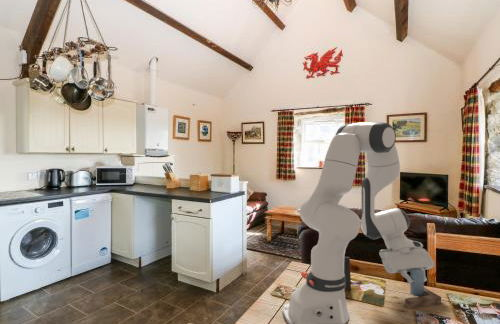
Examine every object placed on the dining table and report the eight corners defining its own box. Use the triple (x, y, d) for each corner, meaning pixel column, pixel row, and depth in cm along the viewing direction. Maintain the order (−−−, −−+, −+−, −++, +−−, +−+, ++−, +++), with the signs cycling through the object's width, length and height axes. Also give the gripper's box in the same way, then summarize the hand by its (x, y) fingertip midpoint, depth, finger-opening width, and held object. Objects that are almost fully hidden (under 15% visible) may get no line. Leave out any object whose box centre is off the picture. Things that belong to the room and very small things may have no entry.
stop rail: (409, 308, 96) (409, 301, 96) (392, 296, 105) (392, 289, 105) (441, 303, 99) (441, 297, 99) (422, 292, 107) (422, 286, 107)
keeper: (416, 297, 101) (416, 273, 101) (407, 291, 105) (407, 268, 105) (426, 296, 102) (426, 272, 101) (417, 290, 106) (417, 267, 106)
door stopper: (351, 290, 110) (351, 261, 109) (335, 288, 111) (335, 260, 111) (347, 280, 119) (347, 253, 118) (333, 278, 120) (333, 252, 120)
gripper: (381, 246, 108) (399, 281, 98) (424, 242, 112) (446, 276, 102) (373, 253, 112) (390, 287, 103) (416, 249, 116) (435, 282, 107)
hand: (418, 282), depth 103 cm, fingers closed on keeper, 4 cm apart
